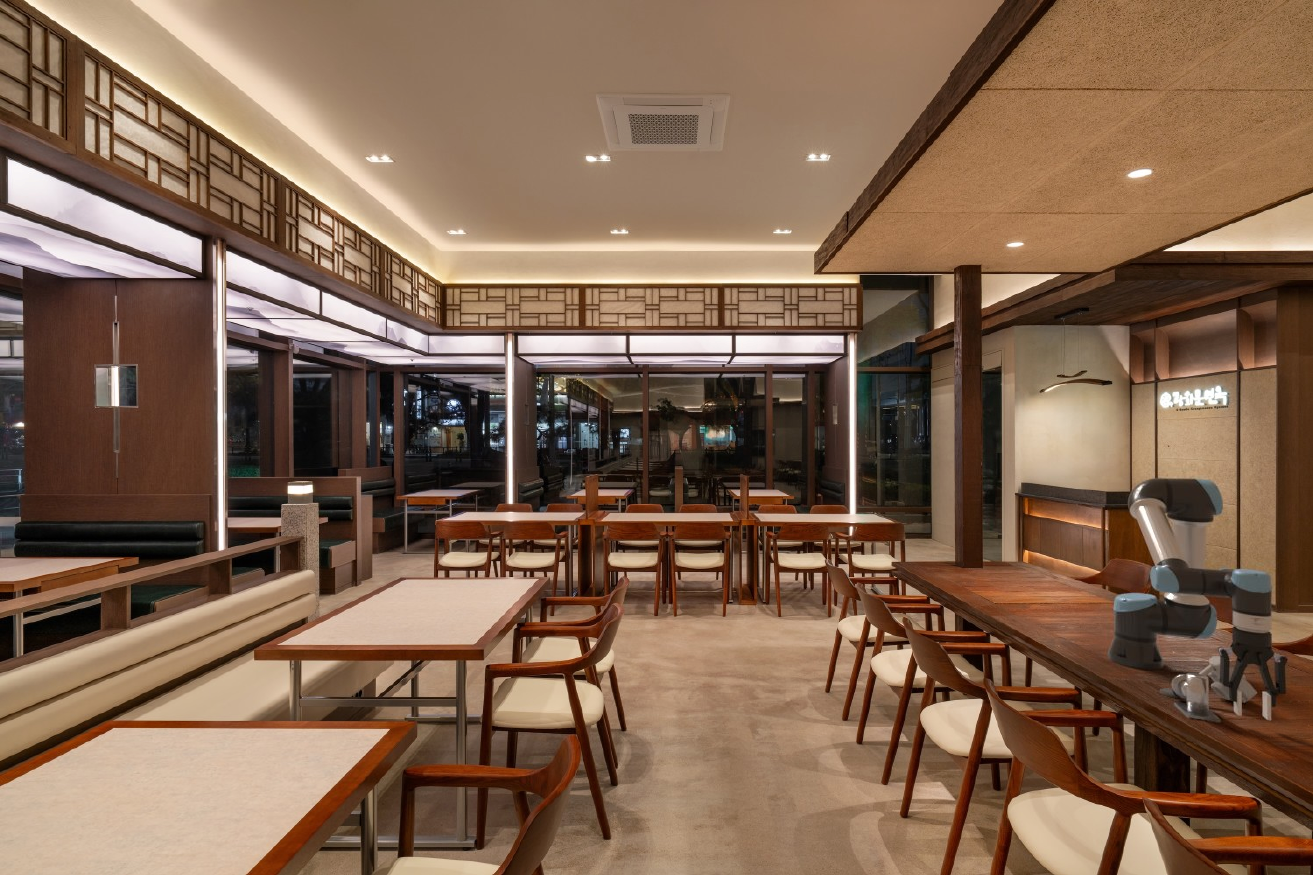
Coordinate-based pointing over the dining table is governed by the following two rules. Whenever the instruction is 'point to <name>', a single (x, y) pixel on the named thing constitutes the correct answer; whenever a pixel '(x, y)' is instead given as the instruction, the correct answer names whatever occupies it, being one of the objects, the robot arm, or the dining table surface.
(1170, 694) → the grey round disc
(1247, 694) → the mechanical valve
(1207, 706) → the elbow fitting
